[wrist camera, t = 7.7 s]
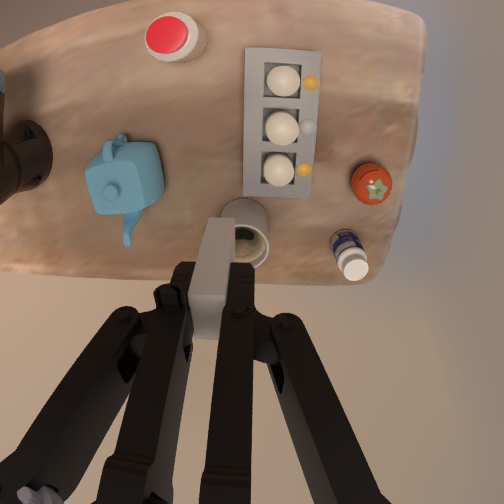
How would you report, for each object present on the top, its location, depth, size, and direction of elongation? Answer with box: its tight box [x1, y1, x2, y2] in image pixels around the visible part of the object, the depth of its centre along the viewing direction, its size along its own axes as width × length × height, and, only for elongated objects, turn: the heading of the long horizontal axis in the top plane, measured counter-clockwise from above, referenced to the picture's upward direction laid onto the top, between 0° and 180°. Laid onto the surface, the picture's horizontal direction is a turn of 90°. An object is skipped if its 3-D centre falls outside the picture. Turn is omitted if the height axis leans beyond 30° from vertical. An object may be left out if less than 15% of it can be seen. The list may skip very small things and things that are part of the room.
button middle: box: [265, 110, 299, 146], centre depth 42 cm, size 5×5×4 cm
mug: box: [201, 199, 269, 268], centre depth 54 cm, size 11×10×10 cm
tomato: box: [351, 163, 392, 205], centre depth 50 cm, size 7×7×8 cm
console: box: [243, 47, 322, 198], centre depth 46 cm, size 11×24×5 cm, turn 179°
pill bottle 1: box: [144, 12, 208, 62], centre depth 36 cm, size 8×8×11 cm
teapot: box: [85, 134, 165, 247], centre depth 49 cm, size 12×18×12 cm
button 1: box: [263, 152, 294, 186], centre depth 48 cm, size 5×5×4 cm
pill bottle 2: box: [331, 230, 368, 281], centre depth 57 cm, size 6×6×10 cm
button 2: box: [266, 66, 300, 96], centre depth 40 cm, size 5×5×4 cm
